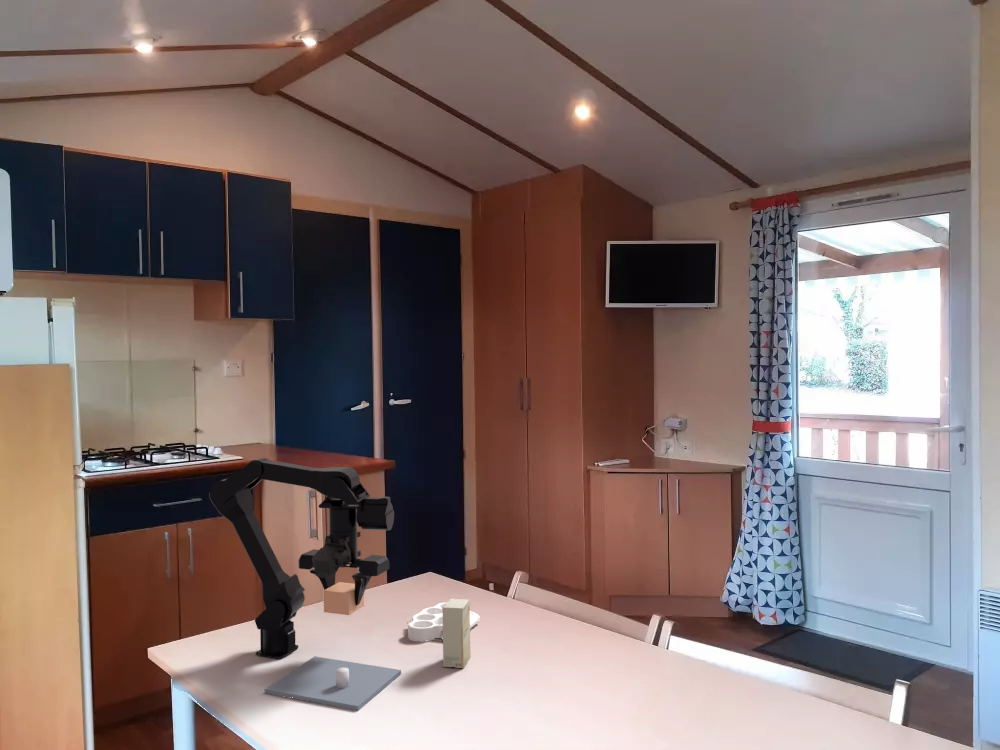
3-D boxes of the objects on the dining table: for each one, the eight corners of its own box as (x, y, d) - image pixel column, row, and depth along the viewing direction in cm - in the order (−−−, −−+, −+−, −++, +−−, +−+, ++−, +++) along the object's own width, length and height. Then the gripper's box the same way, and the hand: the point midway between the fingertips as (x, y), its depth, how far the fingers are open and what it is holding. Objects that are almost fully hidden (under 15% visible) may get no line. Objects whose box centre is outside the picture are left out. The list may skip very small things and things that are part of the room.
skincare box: (463, 669, 148) (463, 608, 148) (442, 667, 149) (441, 607, 149) (471, 656, 154) (470, 598, 154) (450, 655, 155) (450, 597, 155)
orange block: (323, 612, 153) (323, 590, 153) (339, 602, 159) (339, 582, 159) (349, 615, 151) (348, 593, 151) (364, 605, 157) (364, 584, 157)
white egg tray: (451, 649, 160) (392, 639, 165) (485, 621, 176) (431, 613, 182) (451, 633, 159) (392, 624, 165) (485, 607, 176) (431, 599, 182)
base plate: (264, 693, 138) (264, 673, 138) (314, 660, 153) (314, 641, 153) (358, 710, 131) (357, 689, 131) (401, 674, 146) (400, 654, 146)
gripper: (281, 534, 150) (282, 610, 151) (362, 541, 144) (363, 621, 144) (313, 522, 161) (314, 594, 161) (390, 528, 154) (391, 603, 155)
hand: (344, 603), depth 155 cm, fingers closed on orange block, 6 cm apart
